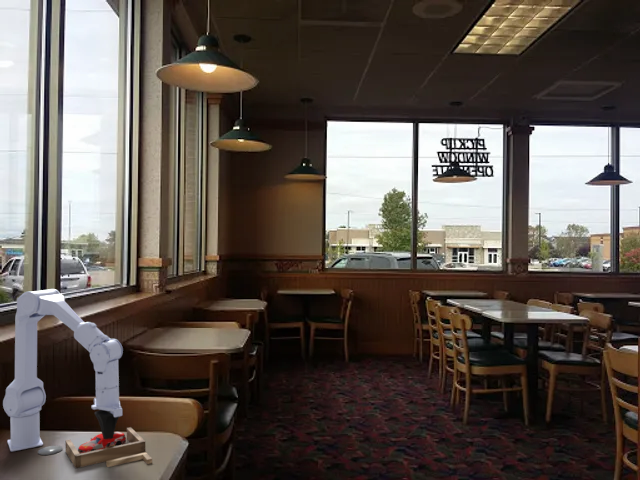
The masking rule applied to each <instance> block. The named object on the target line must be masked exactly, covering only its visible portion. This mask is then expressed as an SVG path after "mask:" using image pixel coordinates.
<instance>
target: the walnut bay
mask: <svg viewBox="0 0 640 480" xmlns="http://www.w3.org/2000/svg"><path fill="white" fill-rule="evenodd" d="M126 440H128V441H129V442H128V443H124V444H123V445H122V444H121V445H119V446H114V447H109V448H104V449H100V450H95V451H90V452H86V453H81V454H80V453H79V452H78V448H77V447H76V446H75V444H74V443H73V442H72V440H71V439H65V443H64V445H65V453H66V455H67V456H68V458H69V459H70V461H71V463H72V464H73V467H74V468H75V469H79V468H84V467H87V466H92V465H97V464H101V463H106V461H109V460H114V459H118V458H123V457H127V456H131V455H136V454H140V453H145V452H146V440H144V438H143V437H142V436H140V435H139V434H138V433H137V432H136V431H135V430H134V429H133V428H132V427H131V426H130V427H126Z"/></svg>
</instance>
